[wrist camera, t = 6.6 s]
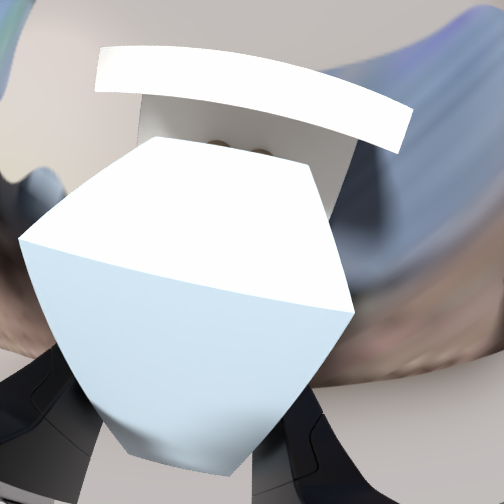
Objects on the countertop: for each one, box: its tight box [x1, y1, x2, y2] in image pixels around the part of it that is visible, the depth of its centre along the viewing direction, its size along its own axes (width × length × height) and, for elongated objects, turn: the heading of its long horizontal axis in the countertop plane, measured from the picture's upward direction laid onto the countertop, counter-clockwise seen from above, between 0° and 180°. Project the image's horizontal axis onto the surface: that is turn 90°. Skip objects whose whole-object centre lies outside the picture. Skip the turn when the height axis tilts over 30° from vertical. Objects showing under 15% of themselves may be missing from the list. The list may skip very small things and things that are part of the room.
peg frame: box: [94, 46, 413, 222], centre depth 13 cm, size 15×10×5 cm, turn 168°
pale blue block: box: [18, 137, 355, 477], centre depth 8 cm, size 10×4×5 cm, turn 169°
